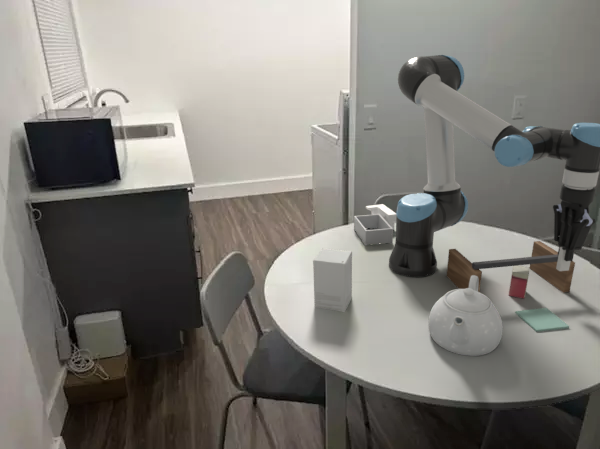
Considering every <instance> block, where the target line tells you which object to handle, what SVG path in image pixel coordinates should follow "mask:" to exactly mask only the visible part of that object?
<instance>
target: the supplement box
mask: <svg viewBox="0 0 600 449" xmlns="http://www.w3.org/2000/svg"><path fill="white" fill-rule="evenodd" d="M312 265H313V295H314V297H313V298H314V303H313V304H314V307H315V308H317V309H325V310H331V311H337V312H343V313H345V312H346V311H347V309H348V307H349V305H350V302H351V300H352V298H353V289H352V288H353V251H352V250H341V249H333V248H331V249H330V248H324V247H322V248H321V249H320V251H319V252H318V254H317V255H316V256H315V258H314V259H313V260H312Z"/></svg>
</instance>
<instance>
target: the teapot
mask: <svg viewBox="0 0 600 449" xmlns="http://www.w3.org/2000/svg"><path fill="white" fill-rule="evenodd" d="M478 286H479V278H478V276H475V275H472V276H471V278H470V282H469V288H466V289H459V288H456V289H452V290H449V291H447V292H446V293H445V294H444V295H443V296H441V297H440V298H439V299H438V300H437V301H435V303H434V304H433V306H432V308H431V310H430V312H429V315H428V316H429V317H428V325H427V326H428V332H429V335H430V337H431V338H432V340H433V341H434V342H435V343H436V344H437V345H438V346H439V347H441V348H442V349H445V350H446V351H448V352H451V353H454V354H457V355H459V356H460V355H462V356H468V357H472V356H473V357H477V356H478V357H480V356H485V355H487V354H490V353H491V352H493V351H494V350H496V348H497V347H498V346H499V344H500V342H501V340H502V336H503V329H504V328H503V321H502V317H501V315H500V314H501V313H500V312H499V310H498V309H497V307H496V306H495V305H494V303H493V302H492V299H490V298H489V297H488V296H487V295H485V294H484V293H482V292H481V291H480V292H478Z"/></svg>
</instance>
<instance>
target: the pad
mask: <svg viewBox="0 0 600 449" xmlns="http://www.w3.org/2000/svg"><path fill="white" fill-rule="evenodd" d="M514 313H515V315H517V316H518V317H520V319H521V320H522V321H523V322H524V323H526V324H527V325H528V326H529V327H530V328H531V329H532V330H534V332H546V331H554V330H555V331H556V330H565V329H569V328H570V325H569V324H567V322H565V321H563V320H562V319H561V318H560V317H558V315H556V314H555V313H554V312H553V311H551V310H550V309H549V308H547V307H543V308H533V309H524V310H516V311H514Z"/></svg>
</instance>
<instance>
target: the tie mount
mask: <svg viewBox="0 0 600 449" xmlns="http://www.w3.org/2000/svg"><path fill="white" fill-rule="evenodd" d="M556 254H558V251H557V250H556V249H553V248H552V247H551V246H549V245H547V244H545V243H544V242H542V241H540V240H537V241H535V240H534V241H533V246H532V252H531V256H530V257H535V256H546V255H556ZM472 263H473V262H471V261H470V260H469V259H468V258H467V257H465V256H464V255H463V254H462V253H461V252H460V251H458V249H457V248H449V249H448V257H447V265H446V266H447V267H446V278H448V279H449V280H450V281H451V282H452V283H453V284H454V286H455V287H456V288H457V289H466V288H469V282H470V278H471V276H472V275H475V276H478V278H479V286H478V292H480V293H481V291H480V290H481V284H482V283H481V282H482V275H483V274H482V273H483V271H482V270H481V269H476V270H474V269H473V268H472ZM556 266H557V262H548V263H538V264H529V267H530V268H529V270H531V271H532V272H534V273H535V274H536V275H538V276H540V277H541V278H542V279H543V280H545V281H546V282H548V283H549V284H551V285H552V286H554V287H555V288H556V289H558V290H559V291H561V293H569V292H570V290H571V286H572V280H573V276H574V270H575V266H576V262H575V261H574V260H573V261H571V262H570V267H569V270H568V271H558V270H557V269H556Z"/></svg>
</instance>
